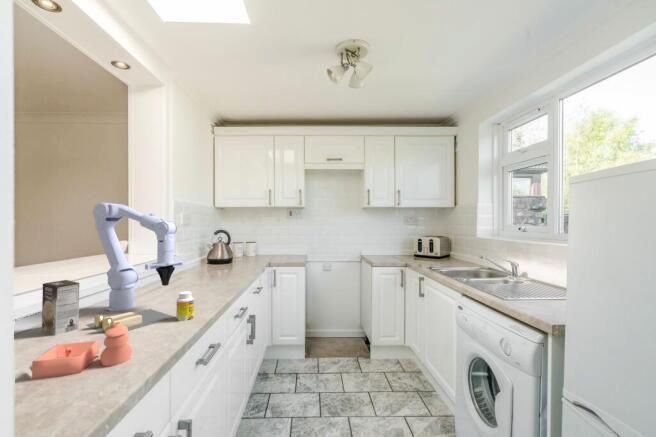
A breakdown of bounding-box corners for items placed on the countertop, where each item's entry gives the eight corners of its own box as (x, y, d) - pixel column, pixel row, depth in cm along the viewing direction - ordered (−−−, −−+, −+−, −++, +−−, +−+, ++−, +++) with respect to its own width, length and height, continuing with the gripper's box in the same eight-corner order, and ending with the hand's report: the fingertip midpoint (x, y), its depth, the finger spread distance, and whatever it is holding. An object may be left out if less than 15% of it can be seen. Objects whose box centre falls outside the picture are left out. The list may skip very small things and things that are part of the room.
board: (85, 327, 98) (85, 324, 98) (150, 310, 116) (150, 309, 116) (109, 338, 88) (109, 336, 88) (176, 319, 106) (176, 317, 106)
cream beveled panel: (104, 325, 97) (104, 318, 97) (130, 318, 104) (130, 311, 104) (115, 330, 93) (115, 322, 93) (141, 323, 100) (142, 315, 100)
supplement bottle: (190, 322, 102) (190, 294, 103) (173, 323, 102) (174, 294, 102) (195, 317, 108) (195, 290, 108) (179, 318, 107) (180, 290, 107)
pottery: (32, 380, 66) (32, 337, 66) (56, 360, 75) (57, 322, 75) (124, 368, 71) (124, 328, 71) (136, 351, 80) (136, 316, 80)
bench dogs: (93, 328, 95) (93, 316, 95) (101, 325, 97) (101, 314, 97) (104, 333, 90) (104, 320, 90) (113, 331, 92) (113, 318, 92)
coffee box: (40, 333, 92) (41, 283, 93) (65, 326, 98) (66, 279, 98) (55, 338, 89) (55, 286, 89) (80, 331, 94) (80, 282, 94)
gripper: (151, 253, 107) (151, 290, 107) (188, 250, 120) (188, 283, 120) (142, 252, 111) (141, 287, 111) (178, 249, 123) (178, 281, 123)
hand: (165, 285), depth 116 cm, fingers closed
